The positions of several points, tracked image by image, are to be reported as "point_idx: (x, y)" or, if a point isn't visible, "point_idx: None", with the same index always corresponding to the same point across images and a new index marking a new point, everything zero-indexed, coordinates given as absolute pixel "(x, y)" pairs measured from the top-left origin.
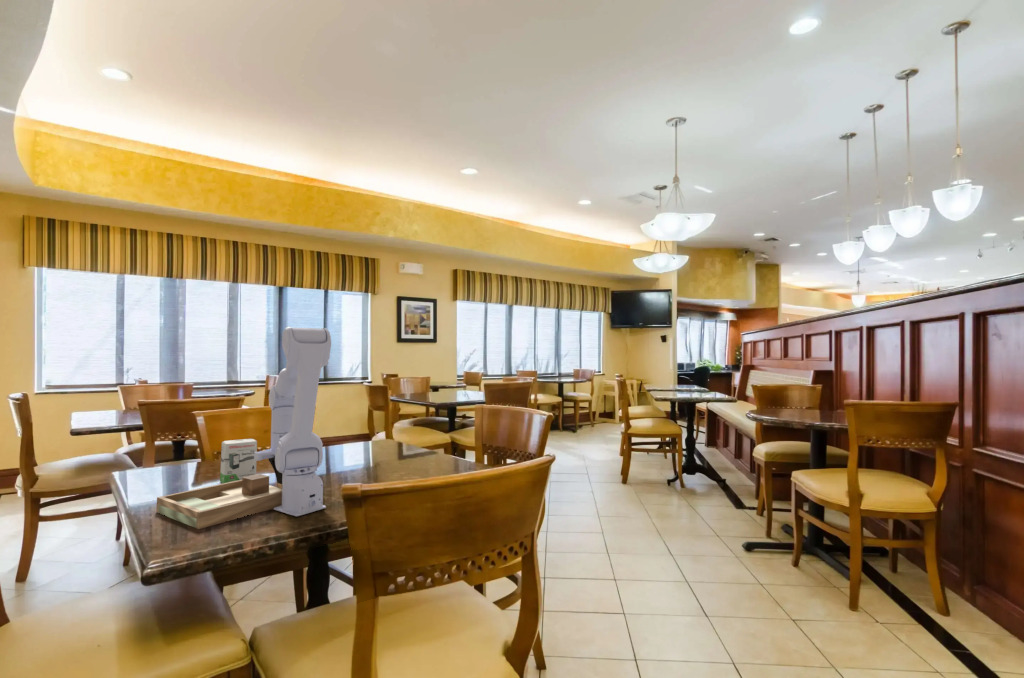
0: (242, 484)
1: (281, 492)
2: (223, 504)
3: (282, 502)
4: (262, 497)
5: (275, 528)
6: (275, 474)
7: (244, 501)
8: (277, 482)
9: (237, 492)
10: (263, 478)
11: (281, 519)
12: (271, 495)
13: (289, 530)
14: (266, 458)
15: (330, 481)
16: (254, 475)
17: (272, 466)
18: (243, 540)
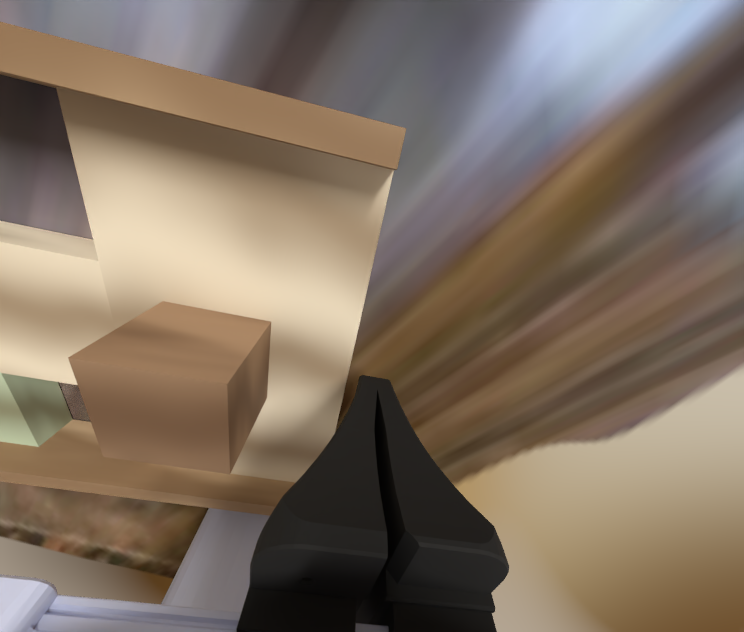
0: (120, 331)
1: (228, 508)
2: (20, 375)
3: (204, 517)
4: (141, 496)
5: (140, 533)
6: (350, 406)
7: (58, 488)
8: (359, 379)
9: (151, 262)
10: (191, 461)
11: (183, 513)
12: (183, 500)
13: (157, 554)
14: (145, 618)
15: (628, 398)
16: (172, 389)
17: (322, 452)
18: (52, 529)
